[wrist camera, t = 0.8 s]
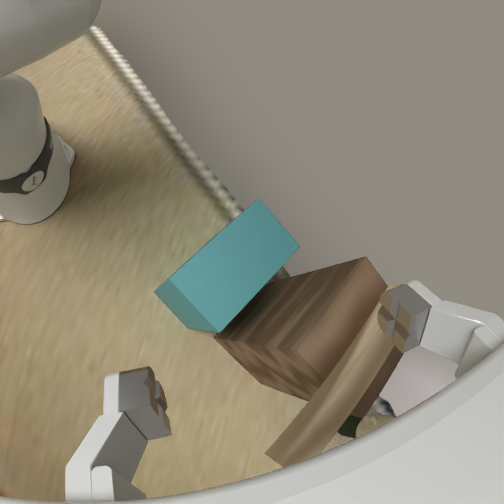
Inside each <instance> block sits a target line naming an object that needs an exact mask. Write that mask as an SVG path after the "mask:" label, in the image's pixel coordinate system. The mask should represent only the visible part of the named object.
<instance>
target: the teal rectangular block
mask: <svg viewBox="0 0 504 504" xmlns="http://www.w3.org/2000/svg"><path fill="white" fill-rule="evenodd" d="M299 247H300V246H299V245H298V244H297V242H296V241H295V240H294V239H293V237H292V236H291V235H290V234H289V233H288V232H287V230H286V229H285V228H284V227H283V226H282V224H281V223H280V222H279V221H278V220H277V219H276V218H275V216H274V215H273V214H272V213H271V212H270V210H269V209H268V208H267V207H266V206H265V205H264V204H263V203H262V201H261V200H260V199H258V200H257V201H255V202H254V203H253V204H252V205H251V206H249V207H248V208H247V209H246V210H245V211H243V212H242V213H241V214H240V215H239V216H238V217H236V218H235V219H234V220H233V221H232V222H230V223H229V224H228V225H227V226H226V227H225V228H223V229H222V230H221V231H220V232H219V233H218V234H216V235H215V236H214V237H213V238H212V239H211V240H210V241H209V242H208V243H206V244H205V245H204V246H203V247H202V248H201V249H200V250H199V251H198V252H196V253H195V254H194V255H193V256H192V257H191V258H190V259H189V260H188V261H187V262H185V263H184V264H183V265H182V266H181V267H180V268H179V269H178V270H177V271H176V272H175V273H173V274H172V275H171V276H170V277H169V278H168V279H167V280H166V281H165V282H164V283H163V284H162V285H160V286H159V287H158V288H157V289H156V290H155V291H154V293H155V294H156V295H157V296H158V297H159V298H160V299H161V300H162V301H163V303H164V304H165V305H166V306H167V307H168V308H169V309H170V310H171V311H172V312H173V313H174V314H175V315H176V316H177V318H178V319H179V320H180V321H181V322H182V323H183V324H184V325H185V326H186V327H187V328H188V329H195V330H203V331H210V332H218V333H220V332H221V331H222V330H223V329H224V328H225V326H226V325H227V324H228V323H229V322H230V321H231V320H232V319H233V318H234V317H235V316H236V315H237V314H238V313H239V312H240V311H241V310H242V309H243V308H244V306H245V305H246V304H247V303H248V302H249V301H250V300H251V299H252V298H253V297H254V296H255V295H256V294H257V293H258V292H259V290H260V289H261V288H262V287H263V286H264V285H265V284H266V283H267V282H268V281H269V280H270V279H271V278H272V277H273V275H274V274H275V273H276V272H277V271H278V270H279V269H280V268H281V267H282V266H283V265H284V263H285V262H286V261H287V260H288V259H289V258H290V257H291V256H292V255H293V254H294V253H295V251H296V250H297V249H298V248H299Z"/></svg>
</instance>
